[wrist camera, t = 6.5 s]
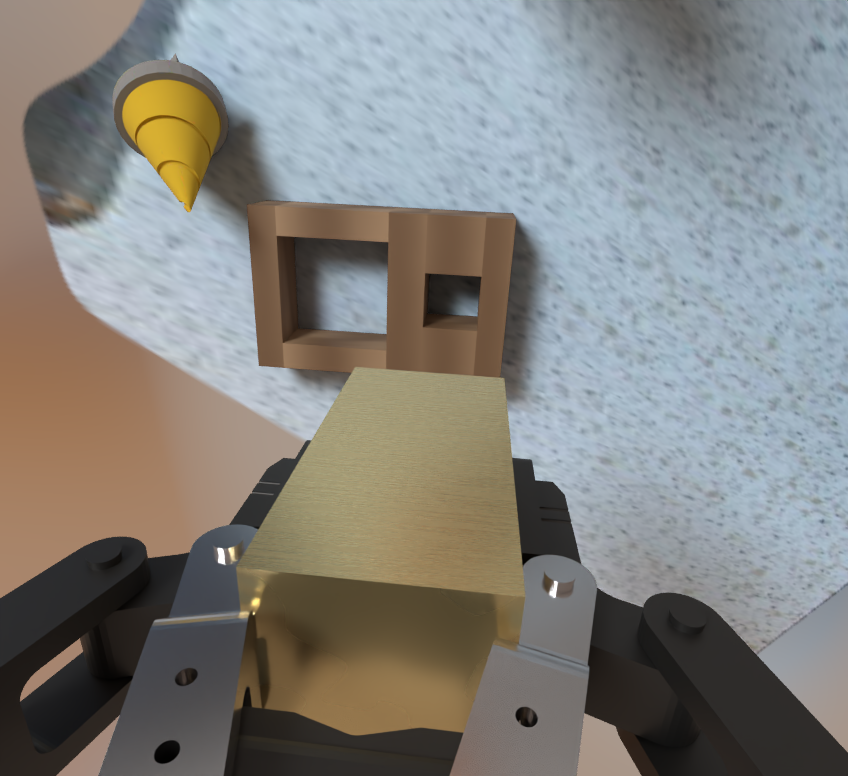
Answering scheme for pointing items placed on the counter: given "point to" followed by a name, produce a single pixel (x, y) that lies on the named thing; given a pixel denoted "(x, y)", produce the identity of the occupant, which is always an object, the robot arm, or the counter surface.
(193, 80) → the drill bit
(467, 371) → the bore block
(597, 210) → the counter surface
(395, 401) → the tan square peg
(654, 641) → the robot arm
